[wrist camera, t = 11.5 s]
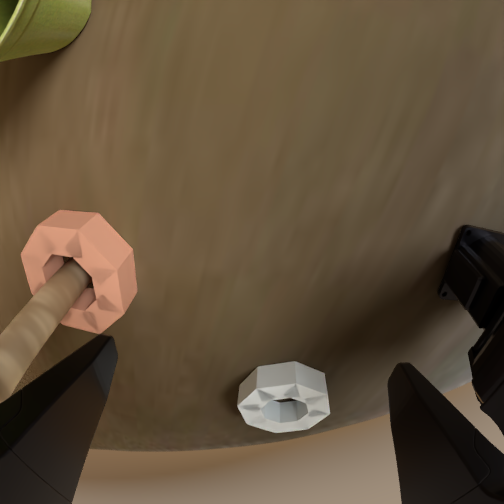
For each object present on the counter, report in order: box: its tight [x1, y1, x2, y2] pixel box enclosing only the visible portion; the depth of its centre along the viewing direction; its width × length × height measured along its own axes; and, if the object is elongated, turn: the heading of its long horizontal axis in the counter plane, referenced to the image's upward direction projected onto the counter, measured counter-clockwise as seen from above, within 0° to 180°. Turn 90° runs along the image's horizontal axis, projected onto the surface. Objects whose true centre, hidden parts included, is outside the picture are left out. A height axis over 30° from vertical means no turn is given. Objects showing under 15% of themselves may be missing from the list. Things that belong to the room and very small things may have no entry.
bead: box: [237, 361, 330, 433], centre depth 28 cm, size 8×8×3 cm
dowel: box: [0, 257, 92, 403], centre depth 17 cm, size 3×3×14 cm
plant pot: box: [0, 0, 91, 62], centre depth 10 cm, size 9×9×9 cm
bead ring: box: [21, 210, 138, 334], centre depth 22 cm, size 9×9×3 cm
